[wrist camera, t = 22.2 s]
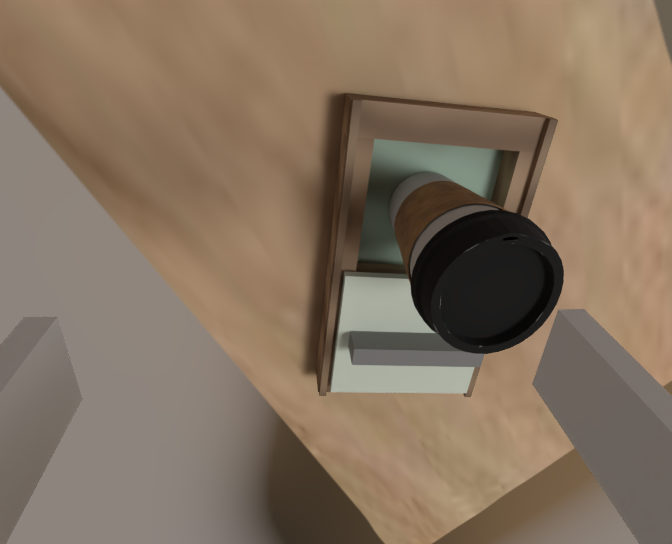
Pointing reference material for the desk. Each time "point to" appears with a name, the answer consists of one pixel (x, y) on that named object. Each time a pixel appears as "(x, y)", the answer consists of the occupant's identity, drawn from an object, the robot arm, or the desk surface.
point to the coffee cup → (473, 264)
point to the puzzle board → (411, 158)
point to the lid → (392, 342)
